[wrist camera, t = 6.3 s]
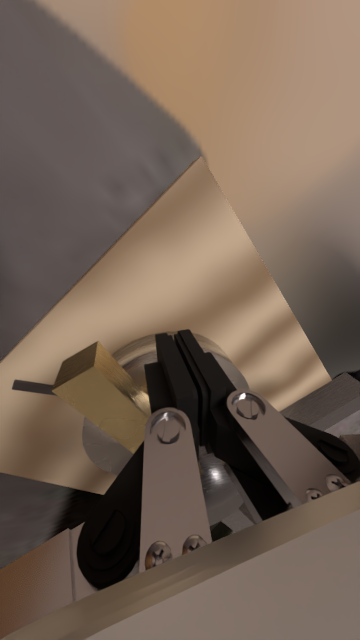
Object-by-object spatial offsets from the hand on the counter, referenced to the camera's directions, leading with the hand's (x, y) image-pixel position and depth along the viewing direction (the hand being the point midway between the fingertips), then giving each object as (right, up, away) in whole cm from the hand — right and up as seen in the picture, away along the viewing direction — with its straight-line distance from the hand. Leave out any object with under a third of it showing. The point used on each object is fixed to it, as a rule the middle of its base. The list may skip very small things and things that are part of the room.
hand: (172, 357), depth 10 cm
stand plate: (0, -5, +10) cm, 11 cm away
